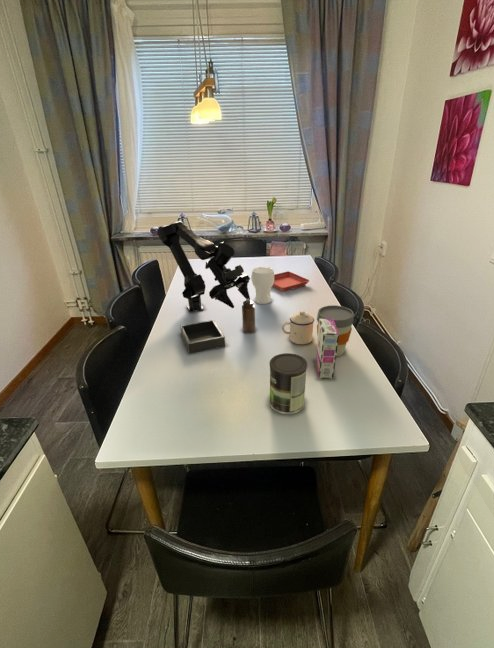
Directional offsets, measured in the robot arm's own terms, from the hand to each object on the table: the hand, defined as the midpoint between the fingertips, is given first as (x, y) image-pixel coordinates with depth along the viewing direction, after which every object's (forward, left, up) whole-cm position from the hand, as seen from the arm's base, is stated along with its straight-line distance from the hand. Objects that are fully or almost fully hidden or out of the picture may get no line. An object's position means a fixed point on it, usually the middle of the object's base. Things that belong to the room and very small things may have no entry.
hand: (241, 304), depth 138 cm
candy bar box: (+40, +15, -11) cm, 44 cm away
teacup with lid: (+18, +16, -11) cm, 26 cm away
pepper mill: (+3, +2, -10) cm, 11 cm away
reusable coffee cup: (+30, +24, -11) cm, 40 cm away
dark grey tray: (+4, -18, -10) cm, 21 cm away
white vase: (-22, +18, -11) cm, 31 cm away
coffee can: (+51, -4, -11) cm, 52 cm away
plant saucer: (-37, +37, -11) cm, 54 cm away
